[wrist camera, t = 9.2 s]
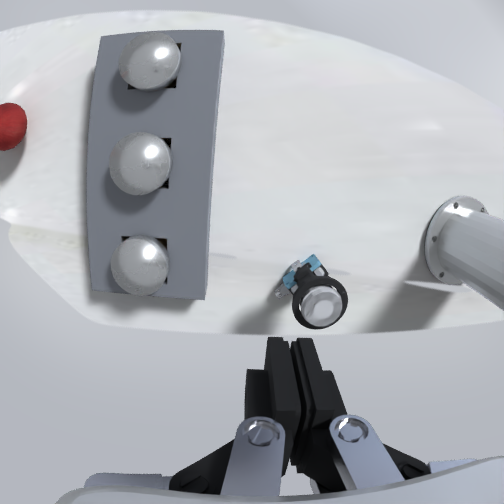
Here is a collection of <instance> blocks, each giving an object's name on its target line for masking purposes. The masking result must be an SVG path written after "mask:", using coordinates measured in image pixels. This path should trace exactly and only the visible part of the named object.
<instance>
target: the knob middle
mask: <svg viewBox="0 0 504 504" xmlns="http://www.w3.org/2000/svg"><path fill="white" fill-rule="evenodd" d="M172 167H173V156H172V152H171V150H170V148H169V146H168V145H167V143H166V142H165V141H164V140H163V139H162V138H160V137H158V136H156V135H154V134H150V133H145V132H135V133H131V134H129V135H127V136H125V137H123V138H122V139H121V140H120V141H119V142H118V143H117V144H116V145H115V147H114V148H113V150H112V152H111V155H110V159H109V170H110V174H111V177H112V179H113V181H114V183H115V184H116V185H117V186H118V187H119V188H120V189H121V190H122V191H124V192H126V193H128V194H132V195H144V194H147V193H150V192H152V191H154V190H156V189H158V188H160V187H161V186H162V185H163V184H164V183H165V182H166V181H167V179H168V178H169V176H170V174H171V171H172Z"/></svg>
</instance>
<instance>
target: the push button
mask: <svg viewBox="0 0 504 504" xmlns="http://www.w3.org/2000/svg"><path fill="white" fill-rule="evenodd" d="M296 263H297V264H296ZM295 264H296V265H295ZM291 266H292V268H293V270H292V271H291V272H289V273H288V274H287V275H285V276H284V277H283V281H284V283H282V284H281V286H280V287H279V288H278V289H276V290H275V293H276V296H277V297H278V299H280V298H282V297H283V296H284V295H286V294H287V295H288V294H289V293H290V292H291V293H292V294H293V302H292V310H293V313H294V316H295V318H296V320H297V321H298V322H299V323H300V324H301V325H303V326H304V327H307V328H310V329H323V328H327V327H329V326H331V325H333V324H335V323H336V322H337V321H338V320H339V319H340V318H341V317H342V316H343V314H344V313H345V311H346V308H347V304H348V296H347V292H346V290H345V288H344V287H343V286H342V284H341V283H340V282H338V281H337V280H335V279H333V278H331V277H329V276H328V272H327V271H326V269H325V268H324V267H323V265H322V264H321V263H320V261H319V260H318V259H317V257H316V256H315V255H314V254H313V255H311V256H310V257H309V258H308V259H306V260H305V261H304V262H302V263H300V261H299V260H297V261H296V262H295V263H293V264H292V265H291ZM332 286H333V287H335V288H336V289H337V291H336V290H335V289H333V288H332ZM278 290H280V291H279V292H278ZM280 294H282V295H281V296H279V295H280ZM299 303H300V306H301V311H300V310H299Z"/></svg>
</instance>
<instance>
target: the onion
mask: <svg viewBox="0 0 504 504" xmlns="http://www.w3.org/2000/svg"><path fill="white" fill-rule="evenodd" d="M26 129H27V118H26V114H25V111H24V110H23V109H22V108H21V107H20V106H19V105H17V104H14V103H5V104H1V105H0V150H1V151H5V150H9V149H12V148H14V147H15V146H16V145H18V144H19V143H20V142H21V141H22V139H23V137H24V136H25V133H26Z"/></svg>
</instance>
